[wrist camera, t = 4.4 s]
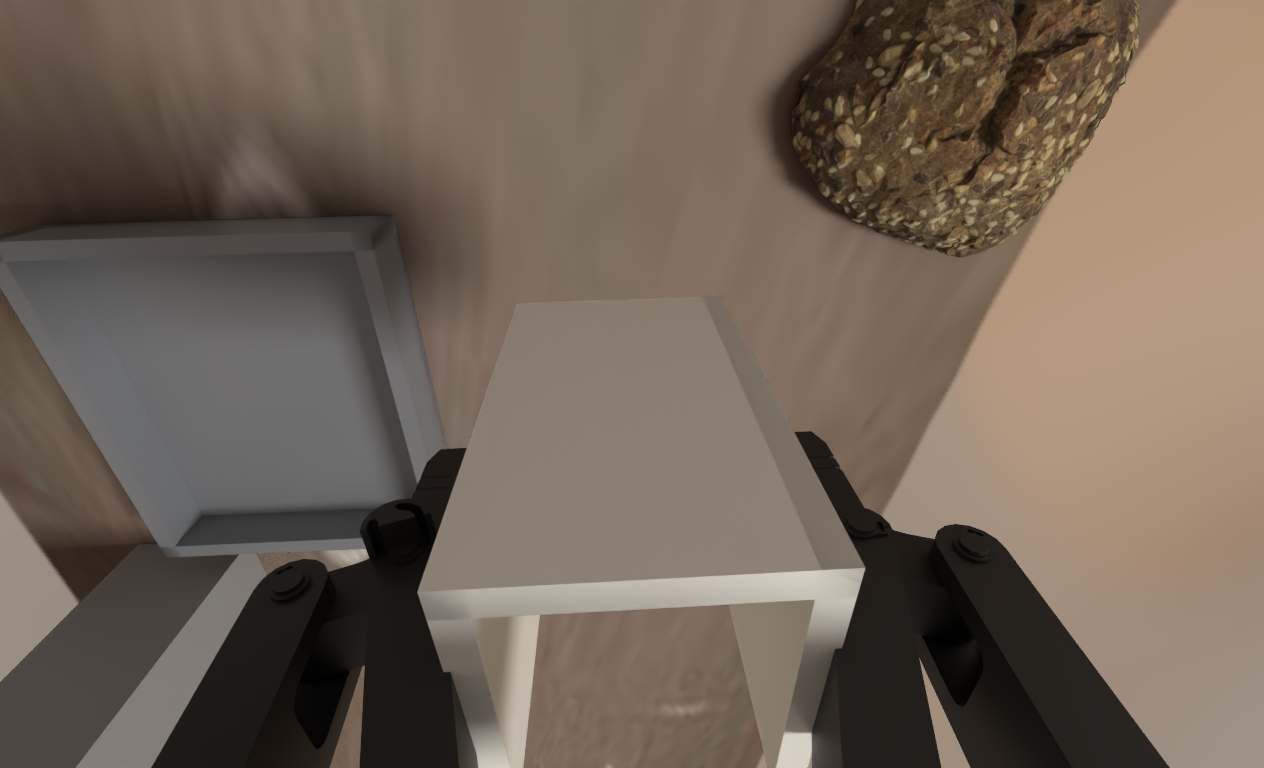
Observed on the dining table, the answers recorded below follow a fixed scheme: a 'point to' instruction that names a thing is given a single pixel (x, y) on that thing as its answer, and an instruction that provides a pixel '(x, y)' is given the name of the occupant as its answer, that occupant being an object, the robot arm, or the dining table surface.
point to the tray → (237, 370)
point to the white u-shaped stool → (636, 512)
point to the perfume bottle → (123, 662)
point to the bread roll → (959, 111)
